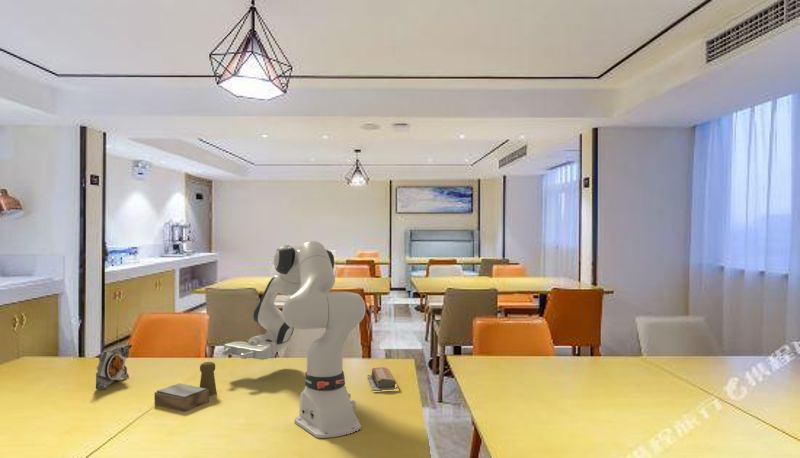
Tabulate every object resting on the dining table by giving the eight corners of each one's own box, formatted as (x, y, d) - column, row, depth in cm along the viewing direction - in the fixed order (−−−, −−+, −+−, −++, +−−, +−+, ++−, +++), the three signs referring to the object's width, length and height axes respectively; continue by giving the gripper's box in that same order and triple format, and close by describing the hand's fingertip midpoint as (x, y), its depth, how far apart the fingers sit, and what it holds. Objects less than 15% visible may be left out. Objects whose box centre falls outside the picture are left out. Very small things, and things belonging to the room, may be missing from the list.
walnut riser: (179, 395, 176) (179, 382, 176) (208, 401, 169) (208, 388, 169) (154, 404, 167) (154, 391, 167) (184, 411, 160) (184, 397, 160)
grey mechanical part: (106, 390, 181) (106, 354, 181) (95, 390, 181) (95, 353, 181) (132, 377, 196) (132, 344, 195) (122, 377, 196) (122, 344, 196)
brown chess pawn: (219, 390, 181) (219, 360, 180) (211, 396, 175) (211, 365, 174) (203, 390, 181) (203, 359, 181) (195, 395, 175) (195, 364, 175)
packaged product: (366, 366, 197) (391, 365, 199) (366, 379, 197) (391, 377, 199) (372, 380, 179) (400, 379, 181) (372, 394, 179) (399, 392, 181)
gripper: (238, 336, 206) (212, 343, 194) (278, 342, 197) (253, 350, 185) (238, 351, 206) (212, 359, 194) (278, 357, 197) (253, 367, 185)
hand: (232, 355), depth 189 cm, fingers open, 8 cm apart
